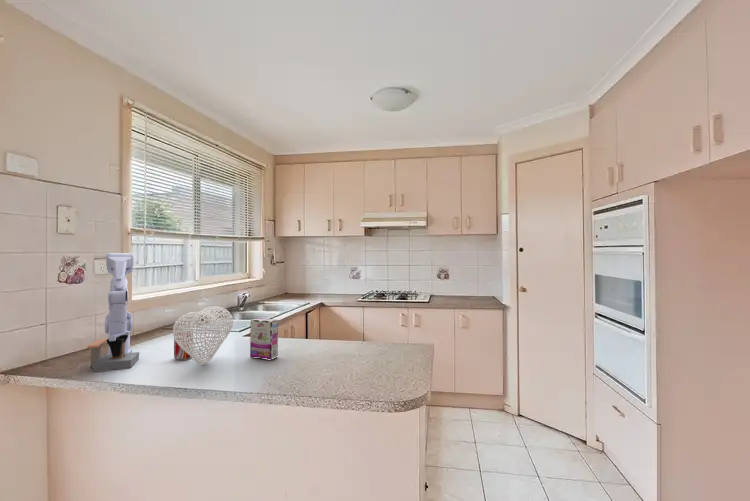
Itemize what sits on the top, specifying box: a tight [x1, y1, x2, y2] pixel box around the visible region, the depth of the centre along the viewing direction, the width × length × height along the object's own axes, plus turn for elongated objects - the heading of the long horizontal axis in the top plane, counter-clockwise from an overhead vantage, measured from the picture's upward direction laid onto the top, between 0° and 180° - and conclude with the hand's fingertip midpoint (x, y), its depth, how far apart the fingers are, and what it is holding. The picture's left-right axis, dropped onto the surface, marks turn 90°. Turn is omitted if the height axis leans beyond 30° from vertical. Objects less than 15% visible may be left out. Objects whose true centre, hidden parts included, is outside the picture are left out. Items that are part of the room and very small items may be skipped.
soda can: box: [173, 328, 194, 361], centre depth 156 cm, size 7×7×12 cm
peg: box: [112, 342, 125, 359], centre depth 146 cm, size 3×3×8 cm
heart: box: [172, 305, 234, 366], centre depth 147 cm, size 28×16×22 cm, turn 177°
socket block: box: [86, 338, 140, 372], centre depth 145 cm, size 12×14×9 cm
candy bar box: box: [249, 317, 279, 359], centre depth 158 cm, size 11×5×16 cm, turn 68°
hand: (117, 355), depth 146 cm, fingers closed on peg, 3 cm apart
